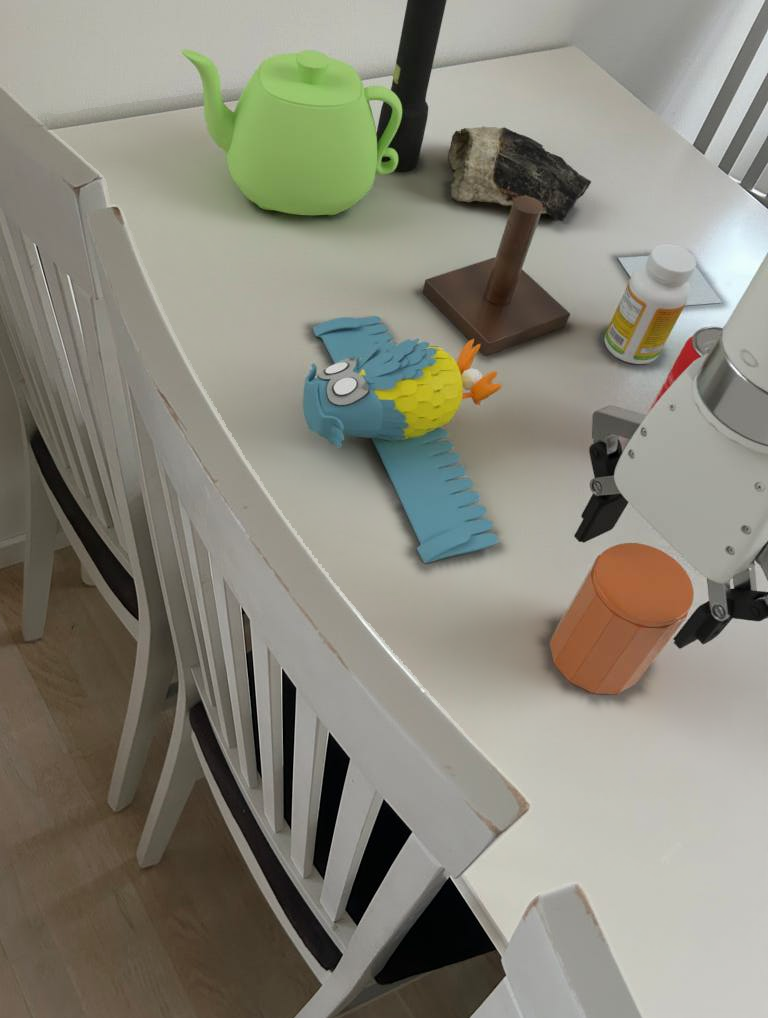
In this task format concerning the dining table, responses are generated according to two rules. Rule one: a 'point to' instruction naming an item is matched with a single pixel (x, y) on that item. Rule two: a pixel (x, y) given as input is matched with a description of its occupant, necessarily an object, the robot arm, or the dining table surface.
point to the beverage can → (690, 355)
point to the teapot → (301, 132)
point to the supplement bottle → (651, 305)
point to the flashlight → (413, 79)
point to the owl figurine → (404, 423)
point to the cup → (621, 618)
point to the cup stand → (500, 290)
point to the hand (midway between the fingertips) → (640, 583)
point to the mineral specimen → (511, 171)
